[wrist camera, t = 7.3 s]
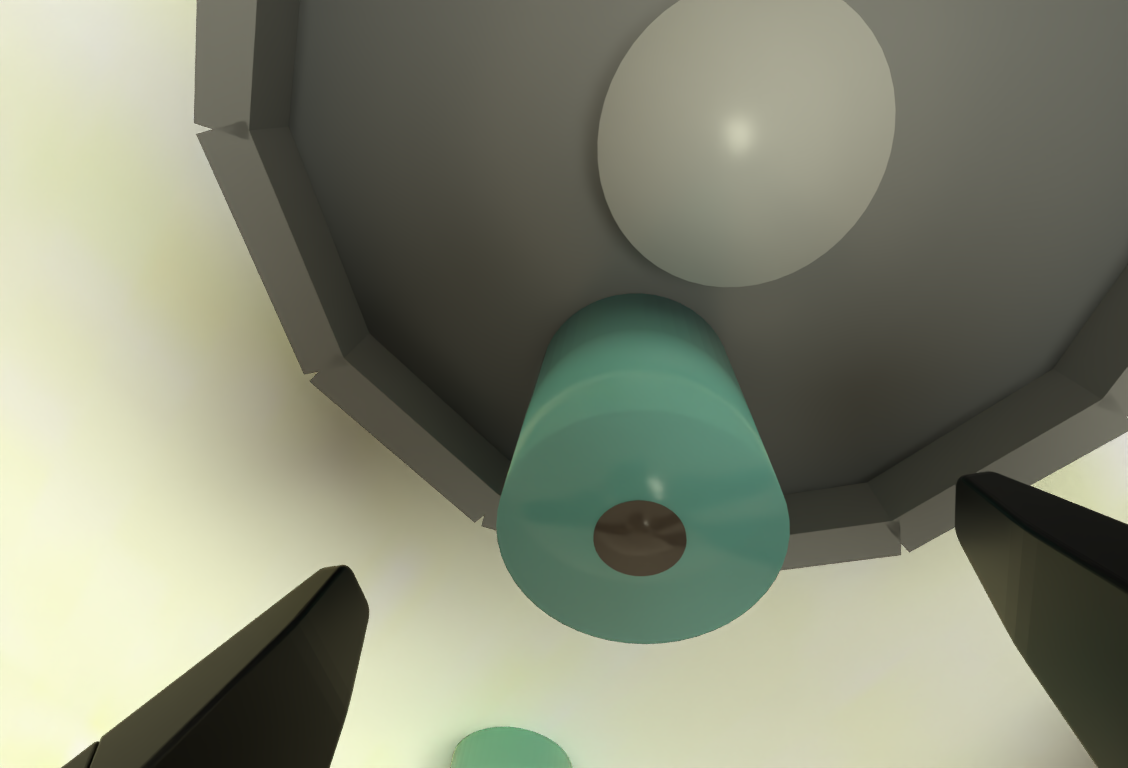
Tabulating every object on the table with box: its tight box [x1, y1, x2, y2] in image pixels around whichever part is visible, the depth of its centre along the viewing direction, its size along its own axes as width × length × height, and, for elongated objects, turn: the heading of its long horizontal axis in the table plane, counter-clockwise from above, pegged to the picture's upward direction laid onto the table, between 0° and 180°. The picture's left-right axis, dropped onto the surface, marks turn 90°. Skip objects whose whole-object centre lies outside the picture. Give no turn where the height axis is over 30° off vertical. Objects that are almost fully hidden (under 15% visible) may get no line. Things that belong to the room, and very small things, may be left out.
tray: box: [194, 0, 1128, 570], centre depth 12 cm, size 19×19×2 cm
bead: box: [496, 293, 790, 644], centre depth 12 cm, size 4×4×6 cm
